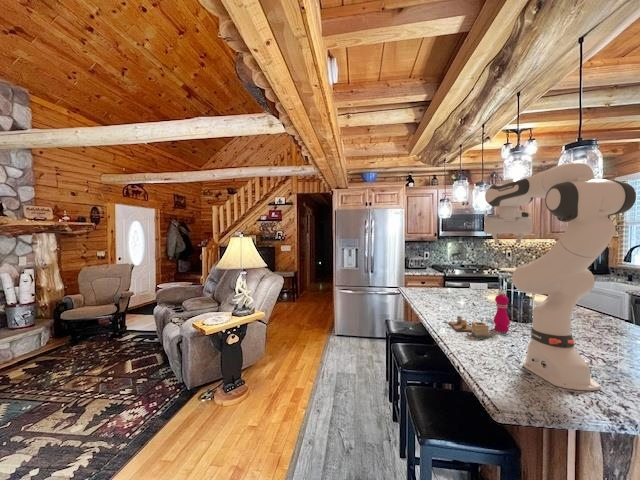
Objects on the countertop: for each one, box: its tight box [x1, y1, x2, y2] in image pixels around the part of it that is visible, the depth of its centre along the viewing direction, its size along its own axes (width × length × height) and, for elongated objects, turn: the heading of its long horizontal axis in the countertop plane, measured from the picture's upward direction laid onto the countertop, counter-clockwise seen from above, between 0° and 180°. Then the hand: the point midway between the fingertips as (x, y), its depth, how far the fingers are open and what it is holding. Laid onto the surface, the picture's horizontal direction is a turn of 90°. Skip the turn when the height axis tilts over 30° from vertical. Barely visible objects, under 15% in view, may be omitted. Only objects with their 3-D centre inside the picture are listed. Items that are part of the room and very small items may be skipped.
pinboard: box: [448, 315, 472, 333], centre depth 154 cm, size 14×9×5 cm, turn 172°
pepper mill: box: [493, 291, 511, 333], centre depth 150 cm, size 7×7×20 cm
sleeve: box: [471, 321, 490, 339], centre depth 141 cm, size 6×6×6 cm
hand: (507, 243), depth 137 cm, fingers open, 8 cm apart
